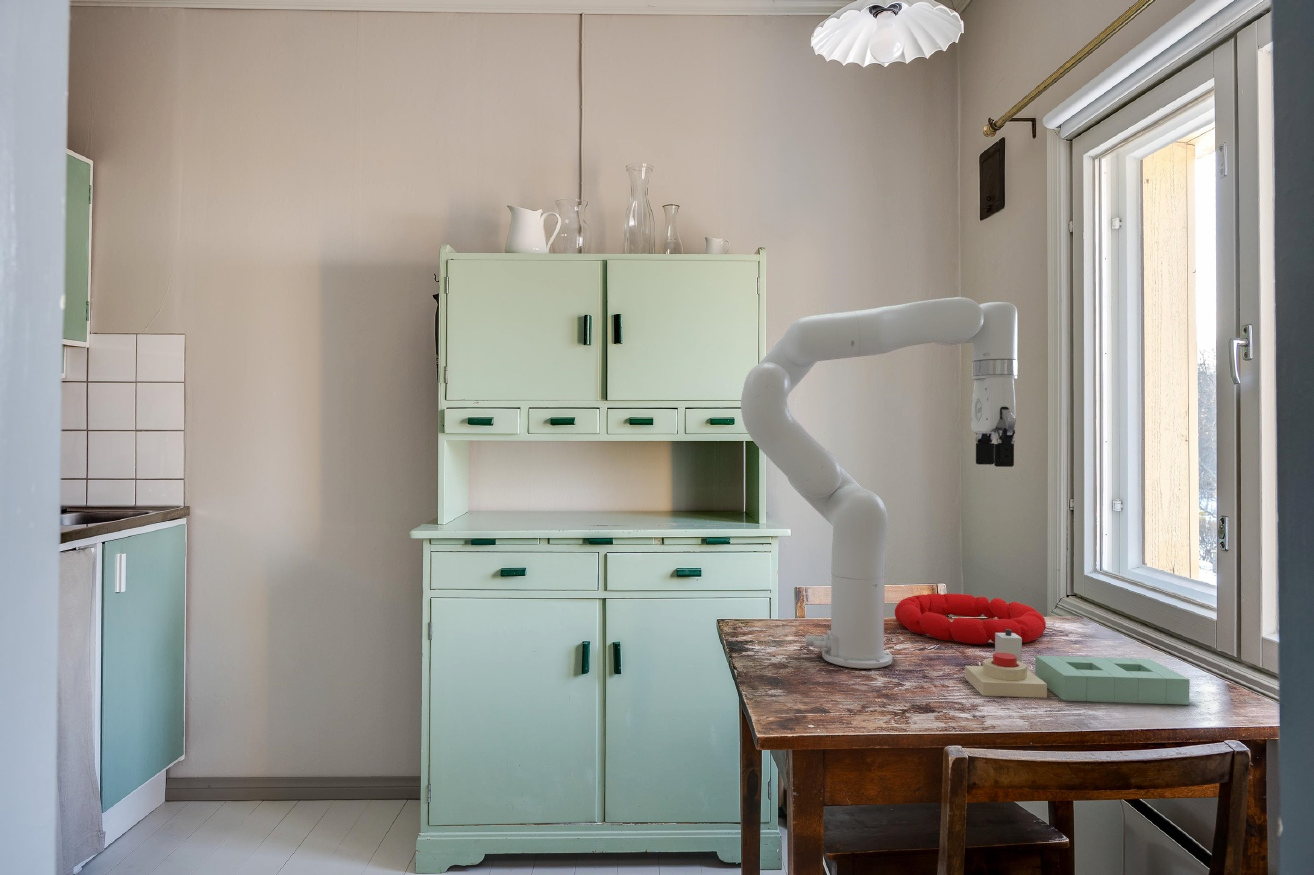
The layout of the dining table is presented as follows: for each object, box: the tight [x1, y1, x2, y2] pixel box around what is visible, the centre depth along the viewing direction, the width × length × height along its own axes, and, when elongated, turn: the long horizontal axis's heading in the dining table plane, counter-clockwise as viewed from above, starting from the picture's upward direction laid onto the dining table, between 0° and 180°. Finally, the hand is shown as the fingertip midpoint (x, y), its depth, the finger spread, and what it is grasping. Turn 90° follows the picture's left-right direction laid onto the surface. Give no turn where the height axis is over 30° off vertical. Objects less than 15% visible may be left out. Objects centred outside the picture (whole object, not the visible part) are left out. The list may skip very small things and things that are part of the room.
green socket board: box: [1034, 655, 1191, 706], centre depth 129 cm, size 19×11×4 cm, turn 86°
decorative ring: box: [894, 593, 1047, 646], centre depth 170 cm, size 7×30×30 cm
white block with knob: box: [994, 629, 1023, 662], centre depth 141 cm, size 3×3×7 cm
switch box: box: [964, 657, 1048, 699], centre depth 130 cm, size 10×9×4 cm
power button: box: [992, 652, 1017, 667], centre depth 130 cm, size 4×4×2 cm
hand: (994, 465), depth 144 cm, fingers open, 9 cm apart
